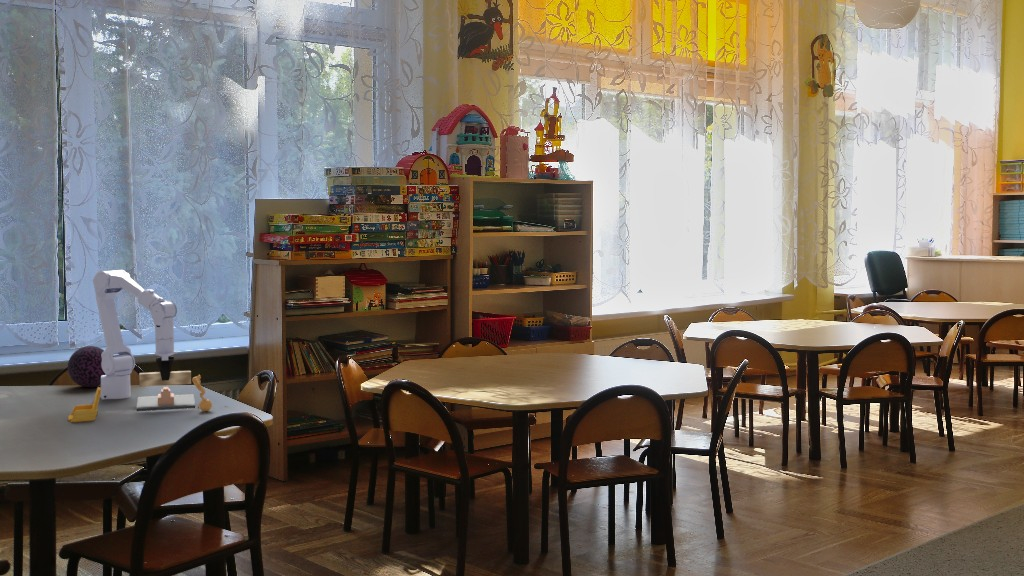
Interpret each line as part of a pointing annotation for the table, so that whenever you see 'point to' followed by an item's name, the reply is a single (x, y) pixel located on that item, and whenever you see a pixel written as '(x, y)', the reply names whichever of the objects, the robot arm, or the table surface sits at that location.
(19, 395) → the table surface
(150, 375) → the pine batten
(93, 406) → the yellow toy chair
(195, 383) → the figurine
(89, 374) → the toy ball
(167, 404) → the board
